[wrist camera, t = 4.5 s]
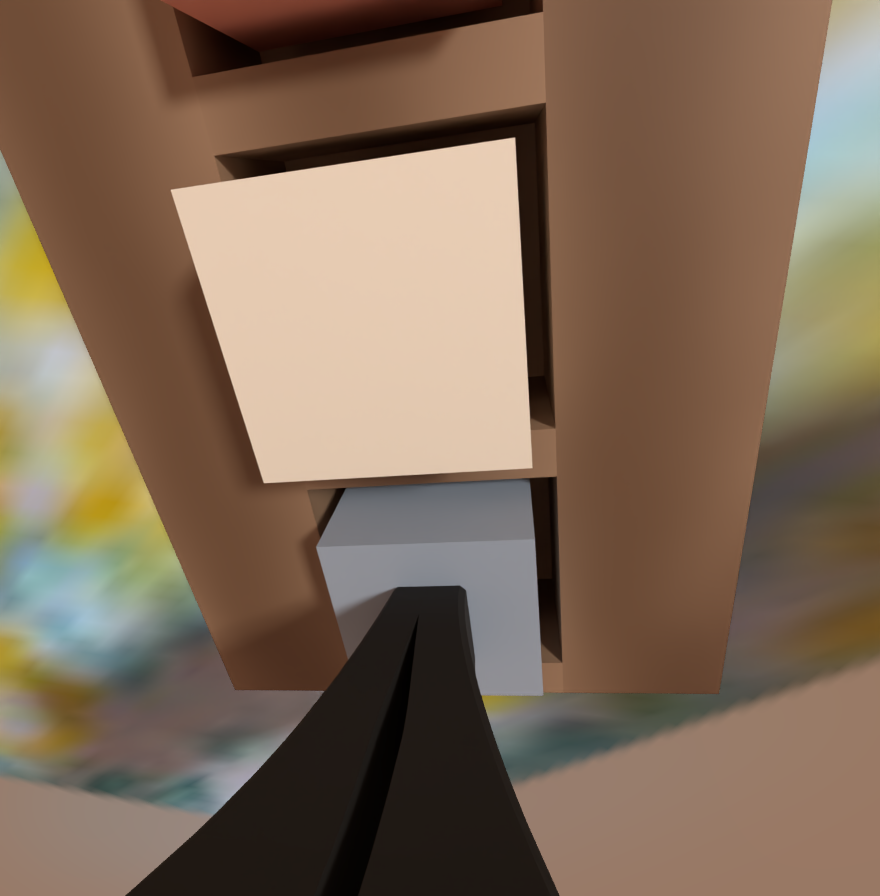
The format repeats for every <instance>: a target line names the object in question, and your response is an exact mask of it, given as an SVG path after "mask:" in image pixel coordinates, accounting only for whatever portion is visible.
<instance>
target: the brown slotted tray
mask: <svg viewBox="0 0 880 896" xmlns="http://www.w3.org/2000/svg"><path fill="white" fill-rule="evenodd" d="M831 5H832V0H502V6H497V7H492V8H486V9H481V10H476V11H471V12H465V13H460V14H455V15H450V16H444V17H439V18H434V19H429V20H423V21H418V22H413V23H408V24H402V25H397V26H392V27H387V28H381V29H376V30H371V31H366V32H360V33H355V34H350V35H345V36H339V37H334V38H329V39H324V40H318V41H313V42H308V43H302V44H297V45H292V46H287V47H281V48H276V49H271V50H266V51H260V52H258V51H256V50H254V49H252V48H251V47H249V46H247V45H245V44H243V43H241V42H239V41H237V40H235V39H233V38H231V37H230V36H228V35H226V34H224V33H222V32H220V31H218V30H216V29H214V28H212V27H210V26H209V25H207V24H205V23H203V22H201V21H199V20H197V19H195V18H193V17H191V16H189V15H188V14H186V13H184V12H182V11H180V10H178V9H176V8H174V7H172V6H170V5H168V4H167V3H165V2H163V1H161V0H0V150H1V152H2V154H3V157H4V159H5V161H6V163H7V166H8V168H9V170H10V173H11V175H12V177H13V180H14V182H15V184H16V186H17V189H18V191H19V193H20V196H21V198H22V200H23V203H24V205H25V207H26V209H27V212H28V214H29V216H30V219H31V221H32V223H33V226H34V228H35V230H36V233H37V235H38V237H39V239H40V242H41V244H42V246H43V249H44V251H45V253H46V256H47V258H48V260H49V262H50V265H51V267H52V269H53V272H54V274H55V276H56V279H57V281H58V283H59V285H60V288H61V290H62V292H63V295H64V297H65V299H66V302H67V304H68V306H69V308H70V311H71V313H72V315H73V318H74V320H75V322H76V325H77V327H78V329H79V332H80V334H81V336H82V338H83V341H84V343H85V345H86V348H87V350H88V352H89V355H90V357H91V359H92V361H93V364H94V366H95V368H96V371H97V373H98V375H99V378H100V380H101V382H102V384H103V387H104V389H105V391H106V394H107V396H108V398H109V401H110V403H111V405H112V407H113V410H114V412H115V414H116V417H117V419H118V421H119V424H120V426H121V428H122V431H123V433H124V435H125V437H126V440H127V442H128V444H129V447H130V449H131V451H132V454H133V456H134V458H135V460H136V463H137V465H138V467H139V470H140V472H141V474H142V477H143V479H144V481H145V483H146V486H147V488H148V490H149V493H150V495H151V497H152V500H153V502H154V504H155V506H156V509H157V511H158V513H159V516H160V518H161V520H162V523H163V525H164V527H165V530H166V532H167V534H168V536H169V539H170V541H171V543H172V546H173V548H174V550H175V553H176V555H177V557H178V559H179V562H180V564H181V566H182V569H183V571H184V573H185V576H186V578H187V580H188V582H189V585H190V587H191V589H192V592H193V594H194V596H195V599H196V601H197V603H198V605H199V608H200V610H201V612H202V615H203V617H204V619H205V622H206V624H207V626H208V629H209V631H210V633H211V635H212V638H213V640H214V642H215V645H216V647H217V649H218V652H219V654H220V656H221V658H222V661H223V663H224V665H225V668H226V670H227V672H228V675H229V677H230V679H231V681H232V684H233V686H234V688H235V690H311V691H325V690H326V689H327V688H328V687H329V685H330V684H331V683H332V681H333V680H334V679H335V677H336V676H337V675H338V673H339V672H340V670H341V669H342V668H343V666H344V665H345V663H346V662H347V661H348V658H347V654H346V650H345V647H344V643H343V640H342V636H341V633H340V629H339V626H338V622H337V619H336V615H335V612H334V608H333V605H332V601H331V598H330V594H329V591H328V587H327V584H326V580H325V577H324V573H323V570H322V566H321V563H320V559H319V556H318V552H317V549H316V546H317V544H318V542H319V540H320V538H321V537H322V535H323V533H324V531H325V529H326V527H327V525H328V523H329V521H330V519H331V517H332V515H333V513H334V511H335V509H336V507H337V505H338V503H339V501H340V499H341V497H342V495H343V493H344V491H345V489H346V488H350V487H369V486H387V485H406V484H425V483H444V482H462V481H481V480H500V479H519V478H530V489H531V501H532V512H533V523H534V535H535V551H536V569H537V587H538V606H539V624H540V642H541V661H542V679H543V692H555V693H677V694H719V690H720V684H721V678H722V672H723V666H724V660H725V654H726V647H727V641H728V635H729V629H730V623H731V617H732V611H733V605H734V598H735V592H736V586H737V580H738V574H739V568H740V562H741V556H742V550H743V543H744V537H745V531H746V525H747V519H748V513H749V507H750V501H751V494H752V488H753V482H754V476H755V470H756V464H757V458H758V452H759V445H760V439H761V433H762V427H763V421H764V415H765V409H766V403H767V396H768V390H769V384H770V378H771V372H772V366H773V360H774V354H775V348H776V341H777V335H778V329H779V323H780V317H781V311H782V305H783V299H784V292H785V286H786V280H787V274H788V268H789V262H790V256H791V250H792V243H793V237H794V231H795V225H796V219H797V213H798V207H799V201H800V194H801V188H802V182H803V176H804V170H805V164H806V158H807V152H808V146H809V139H810V133H811V127H812V121H813V115H814V109H815V103H816V97H817V90H818V84H819V78H820V72H821V66H822V60H823V54H824V48H825V41H826V35H827V29H828V23H829V17H830V11H831ZM509 138H515V146H516V165H517V184H518V203H519V222H520V241H521V259H522V278H523V297H524V316H525V335H526V354H527V373H528V392H529V411H530V429H531V448H532V467H533V468H527V469H509V470H491V471H474V472H456V473H438V474H420V475H402V476H384V477H367V478H349V479H331V480H313V481H295V482H277V483H264V482H263V479H262V476H261V473H260V469H259V466H258V463H257V460H256V457H255V454H254V451H253V447H252V444H251V441H250V438H249V435H248V432H247V429H246V425H245V422H244V419H243V416H242V413H241V410H240V407H239V403H238V400H237V397H236V394H235V391H234V388H233V385H232V381H231V378H230V375H229V372H228V369H227V366H226V363H225V359H224V356H223V353H222V350H221V347H220V344H219V341H218V337H217V334H216V331H215V328H214V325H213V322H212V318H211V315H210V312H209V309H208V306H207V303H206V300H205V296H204V293H203V290H202V287H201V284H200V281H199V278H198V274H197V271H196V268H195V265H194V262H193V259H192V256H191V252H190V249H189V246H188V243H187V240H186V237H185V234H184V230H183V227H182V224H181V221H180V218H179V215H178V212H177V208H176V205H175V202H174V199H173V196H172V193H171V190H172V189H179V188H186V187H192V186H199V185H205V184H212V183H219V182H225V181H232V180H238V179H245V178H251V177H258V176H265V175H271V174H278V173H284V172H291V171H298V170H304V169H311V168H317V167H324V166H331V165H337V164H344V163H350V162H357V161H364V160H370V159H377V158H383V157H390V156H397V155H403V154H410V153H416V152H423V151H430V150H436V149H443V148H449V147H456V146H463V145H469V144H476V143H482V142H489V141H496V140H502V139H509Z"/></svg>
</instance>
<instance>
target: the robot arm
mask: <svg viewBox="0 0 880 896" xmlns="http://www.w3.org/2000/svg"><path fill="white" fill-rule="evenodd" d="M126 896H559V893H558V891H557V889H556V887H555V884H554V882H553V881H552V878H551V876H550V873H549V871H548V869H547V867H546V865H545V862H544V860H543V858H542V856H541V853H540V851H539V849H538V847H537V844H536V842H535V840H534V838H533V835H532V833H531V831H530V828H529V826H528V824H527V822H526V819H525V817H524V814H523V812H522V809H521V807H520V804H519V802H518V799H517V797H516V794H515V792H514V789H513V787H512V784H511V782H510V779H509V776H508V774H507V771H506V768H505V766H504V763H503V760H502V758H501V755H500V752H499V749H498V747H497V744H496V741H495V738H494V735H493V732H492V729H491V726H490V723H489V719H488V716H487V713H486V710H485V707H484V703H483V700H482V696H481V693H480V689H479V686H478V682H477V678H476V674H475V653H474V646H473V638H472V631H471V623H470V616H469V608H468V601H467V593H466V590H465V589H464V588H463V587H461V586H460V585H456V586H415V587H397V588H396V589H395V590H394V591H393V593H392V594H391V596H390V597H389V599H388V601H387V602H386V604H385V606H384V607H383V609H382V610H381V612H380V613H379V615H378V617H377V618H376V620H375V621H374V623H373V624H372V626H371V627H370V629H369V630H368V632H367V633H366V635H365V636H364V638H363V639H362V641H361V642H360V644H359V645H358V647H357V648H356V649H355V651H354V652H353V654H352V655H351V656H350V658H349V659H348V661H347V662H346V663H345V665H344V666H343V668H342V669H341V670H340V672H339V673H338V675H337V676H336V677H335V679H334V680H333V681H332V683H331V684H330V685H329V687H328V688H327V689H326V690H325V692H324V693H323V694H322V695H321V697H320V698H319V699H318V701H317V702H316V703H315V704H314V706H313V707H312V708H311V709H310V711H309V712H308V713H307V714H306V716H305V717H304V718H303V720H302V721H301V722H300V723H299V724H298V726H297V727H296V728H295V729H294V730H293V731H292V733H291V734H290V735H289V736H288V737H287V738H286V740H285V741H284V742H283V743H282V744H281V745H280V746H279V748H278V749H277V750H276V751H275V752H274V753H273V754H272V755H271V756H270V758H269V759H268V760H267V761H266V762H265V763H264V764H263V765H262V766H261V767H260V769H259V770H258V771H257V772H256V773H255V774H254V775H253V776H252V777H251V778H250V779H249V780H248V781H247V782H246V783H245V784H244V785H243V786H242V787H241V788H240V789H239V790H238V791H237V792H236V793H235V794H234V795H233V796H232V797H231V798H230V799H229V800H228V801H227V802H226V804H225V805H224V806H223V807H222V808H221V809H220V810H219V811H218V812H217V813H216V814H215V815H213V816H212V817H211V818H210V819H209V820H208V821H207V822H206V823H205V824H204V825H203V826H202V827H201V828H200V829H199V830H198V831H197V832H196V833H195V834H194V835H193V836H192V837H191V838H189V839H188V840H187V841H186V842H185V843H184V844H183V845H182V846H181V847H179V848H178V849H177V850H176V851H175V852H174V853H173V854H171V855H170V857H168V858H167V859H166V860H165V861H164V862H163V863H161V864H160V865H159V866H158V867H157V868H156V869H155V870H154V871H153V872H151V873H150V874H149V875H148V876H147V877H146V878H145V879H144V880H142V881H141V882H140V883H139V884H138V885H137V886H136V887H135V888H134V889H132V890H131V891H130V892H129V893H128V894H127V895H126Z"/></svg>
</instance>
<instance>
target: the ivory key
mask: <svg viewBox="0 0 880 896" xmlns="http://www.w3.org/2000/svg"><path fill="white" fill-rule="evenodd" d="M171 193H172V196H173V199H174V202H175V205H176V208H177V212H178V215H179V218H180V221H181V224H182V227H183V230H184V234H185V237H186V240H187V243H188V246H189V249H190V252H191V256H192V259H193V262H194V265H195V268H196V271H197V274H198V278H199V281H200V284H201V287H202V290H203V293H204V296H205V300H206V303H207V306H208V309H209V312H210V315H211V318H212V322H213V325H214V328H215V331H216V334H217V337H218V341H219V344H220V347H221V350H222V353H223V356H224V359H225V363H226V366H227V369H228V372H229V375H230V378H231V381H232V385H233V388H234V391H235V394H236V397H237V400H238V403H239V407H240V410H241V413H242V416H243V419H244V422H245V425H246V429H247V432H248V435H249V438H250V441H251V444H252V447H253V451H254V454H255V457H256V460H257V463H258V466H259V469H260V473H261V476H262V479H263V482H264V483H277V482H295V481H313V480H331V479H349V478H367V477H384V476H402V475H420V474H438V473H456V472H474V471H491V470H509V469H527V468H533V467H532V448H531V429H530V411H529V392H528V373H527V354H526V335H525V316H524V297H523V278H522V259H521V241H520V222H519V203H518V184H517V165H516V146H515V138H509V139H502V140H496V141H489V142H482V143H476V144H469V145H463V146H456V147H449V148H443V149H436V150H430V151H423V152H416V153H410V154H403V155H397V156H390V157H383V158H377V159H370V160H364V161H357V162H350V163H344V164H337V165H331V166H324V167H317V168H311V169H304V170H298V171H291V172H284V173H278V174H271V175H265V176H258V177H251V178H245V179H238V180H232V181H225V182H219V183H212V184H205V185H199V186H192V187H186V188H179V189H172V190H171Z"/></svg>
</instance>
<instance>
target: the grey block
mask: <svg viewBox="0 0 880 896" xmlns="http://www.w3.org/2000/svg"><path fill="white" fill-rule="evenodd" d="M316 549H317V552H318V556H319V559H320V563H321V566H322V570H323V573H324V577H325V580H326V584H327V587H328V591H329V594H330V598H331V601H332V605H333V608H334V612H335V615H336V619H337V622H338V626H339V629H340V633H341V636H342V640H343V643H344V647H345V650H346V654H347V658H348V659H349V658H350V656H351V655H352V654H353V652H354V651H355V649H356V648H357V647H358V645H359V644H360V642H361V641H362V639H363V638H364V636H365V635H366V633H367V632H368V630H369V629H370V627H371V626H372V624H373V623H374V621H375V620H376V618H377V617H378V615H379V613H380V612H381V610H382V609H383V607H384V606H385V604H386V602H387V601H388V599H389V597H390V596H391V594H392V593H393V591H394V590H395V589H396V588H397V587H415V586H456V585H460V586H461V587H463V588H464V589H465V590H466V593H467V601H468V608H469V616H470V623H471V631H472V638H473V646H474V653H475V674H476V678H477V682H478V686H479V689H480V693H481V695H517V696H543V679H542V661H541V642H540V624H539V606H538V587H537V569H536V551H535V535H534V523H533V512H532V501H531V489H530V478H519V479H500V480H481V481H462V482H444V483H425V484H406V485H387V486H369V487H350V488H346V489H345V491H344V493H343V495H342V497H341V499H340V501H339V503H338V505H337V507H336V509H335V511H334V513H333V515H332V517H331V519H330V521H329V523H328V525H327V527H326V529H325V531H324V533H323V535H322V537H321V538H320V540H319V542H318V544H317V546H316Z"/></svg>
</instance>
